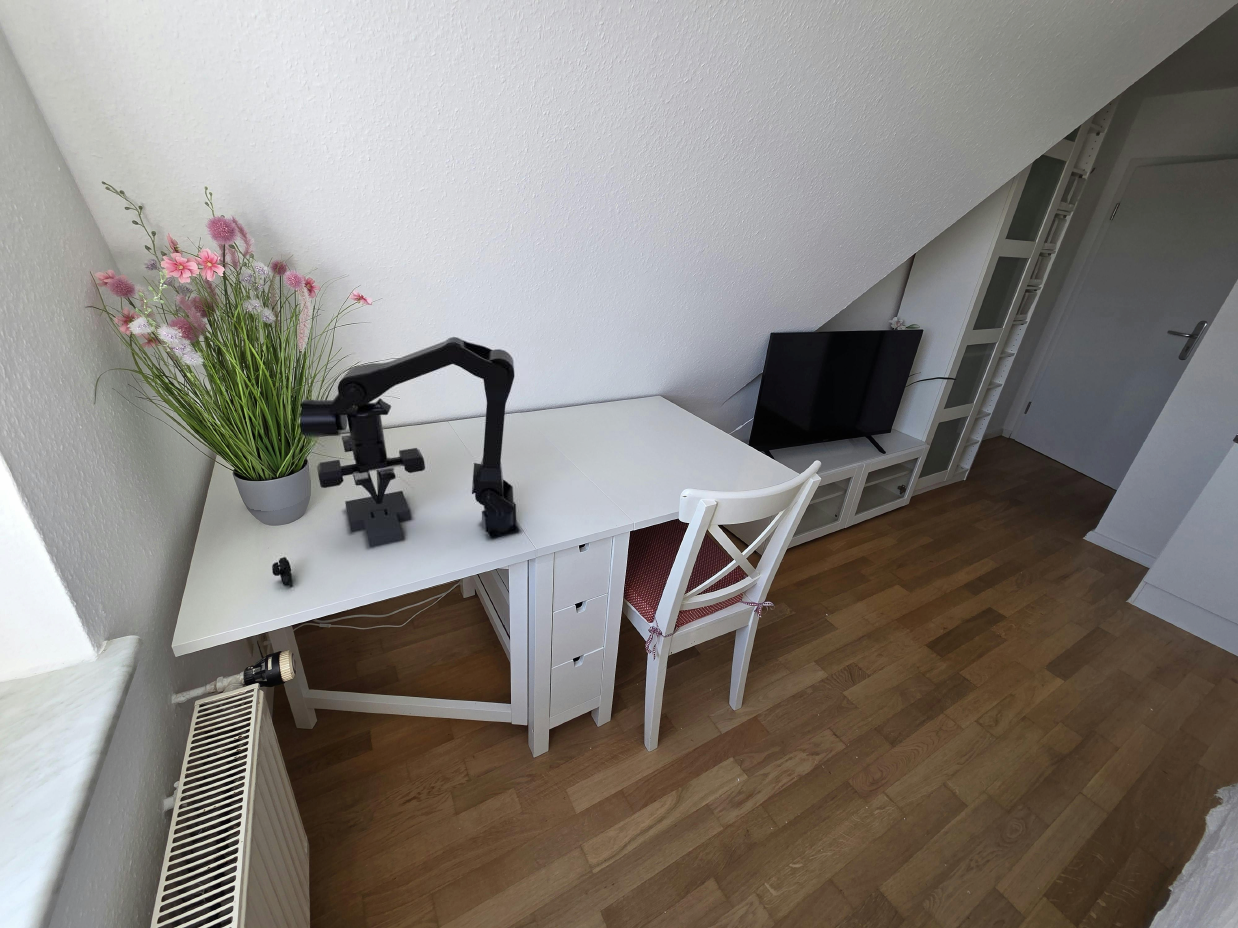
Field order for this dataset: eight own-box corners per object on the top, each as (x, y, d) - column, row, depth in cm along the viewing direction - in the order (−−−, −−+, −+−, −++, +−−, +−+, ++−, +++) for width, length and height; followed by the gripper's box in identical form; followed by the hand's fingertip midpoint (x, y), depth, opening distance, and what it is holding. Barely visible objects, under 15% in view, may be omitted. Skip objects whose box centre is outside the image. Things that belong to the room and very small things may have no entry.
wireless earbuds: (294, 592, 92) (287, 571, 89) (277, 597, 91) (270, 575, 88) (292, 569, 97) (286, 548, 95) (276, 573, 96) (269, 552, 93)
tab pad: (395, 516, 114) (394, 507, 113) (403, 539, 107) (401, 530, 106) (364, 523, 111) (362, 513, 110) (369, 547, 104) (368, 537, 103)
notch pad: (403, 499, 121) (402, 490, 120) (410, 519, 114) (409, 510, 113) (347, 510, 115) (345, 501, 114) (351, 532, 108) (349, 522, 107)
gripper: (410, 412, 108) (418, 476, 115) (309, 424, 99) (324, 493, 106) (421, 433, 100) (429, 500, 107) (311, 448, 91) (328, 521, 98)
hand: (379, 503), depth 105 cm, fingers closed
